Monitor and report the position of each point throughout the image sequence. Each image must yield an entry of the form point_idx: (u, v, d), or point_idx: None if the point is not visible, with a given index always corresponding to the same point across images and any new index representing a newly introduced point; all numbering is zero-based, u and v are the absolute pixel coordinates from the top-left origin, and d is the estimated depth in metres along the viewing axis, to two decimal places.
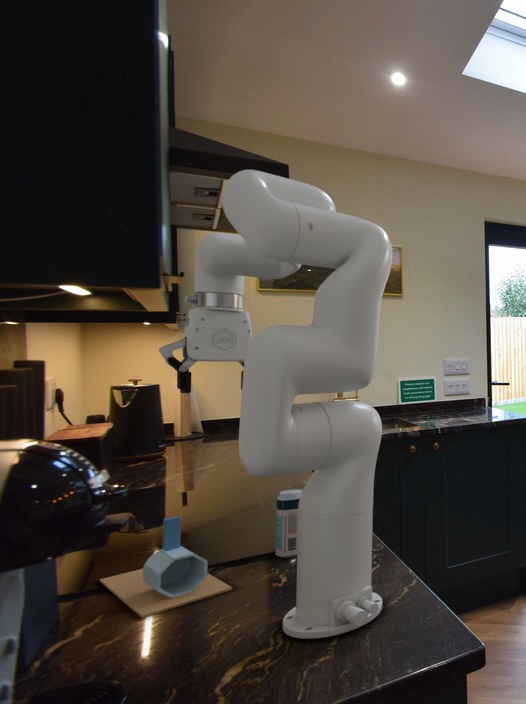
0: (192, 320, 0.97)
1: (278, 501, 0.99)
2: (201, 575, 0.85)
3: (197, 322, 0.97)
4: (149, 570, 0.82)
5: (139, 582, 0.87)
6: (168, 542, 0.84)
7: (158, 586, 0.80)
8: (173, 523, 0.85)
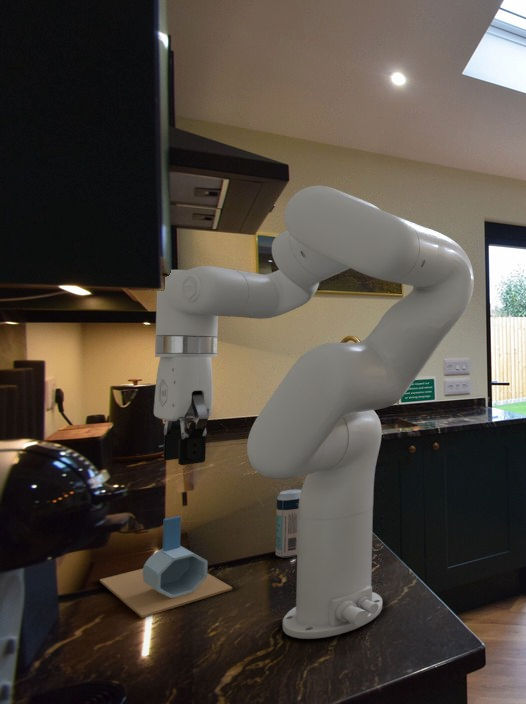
0: None
1: (278, 501, 0.99)
2: (201, 575, 0.85)
3: (157, 372, 0.84)
4: (149, 570, 0.82)
5: (139, 582, 0.87)
6: (168, 542, 0.84)
7: (158, 586, 0.80)
8: (173, 523, 0.85)
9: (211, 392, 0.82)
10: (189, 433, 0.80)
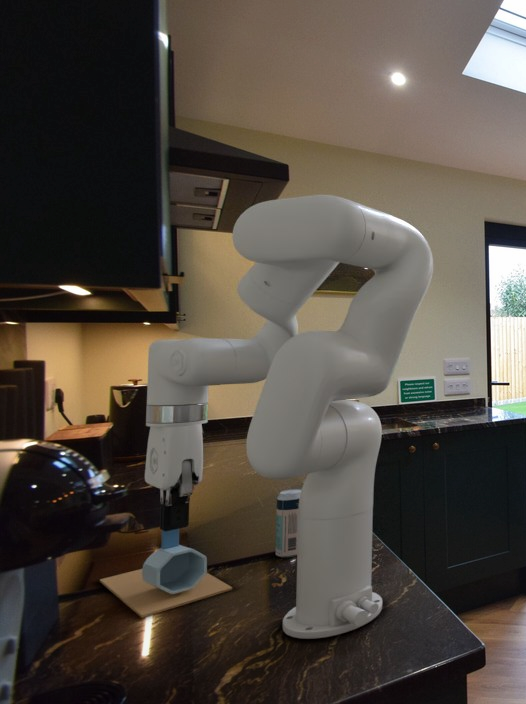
0: None
1: (278, 501, 0.99)
2: (201, 571, 0.85)
3: (148, 438, 0.85)
4: (148, 568, 0.82)
5: (139, 582, 0.87)
6: (167, 540, 0.85)
7: (158, 581, 0.80)
8: None
9: (201, 459, 0.84)
10: (172, 500, 0.83)
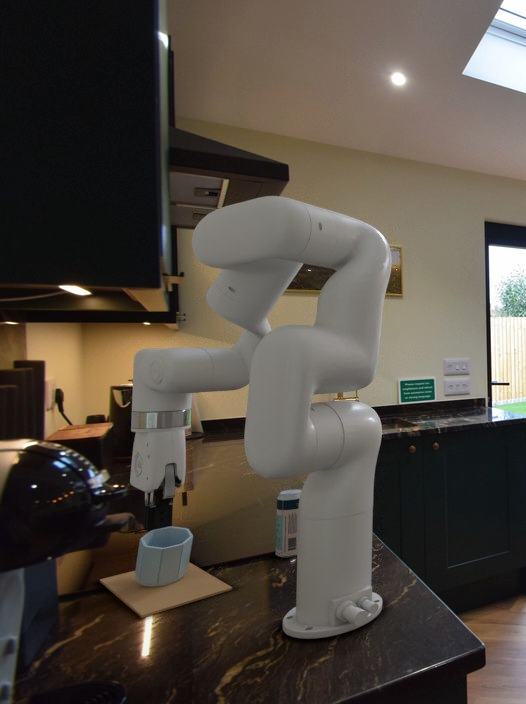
0: None
1: (278, 501, 0.99)
2: None
3: (134, 443, 0.89)
4: (137, 559, 0.85)
5: None
6: None
7: (144, 544, 0.84)
8: None
9: (184, 463, 0.88)
10: (156, 502, 0.87)
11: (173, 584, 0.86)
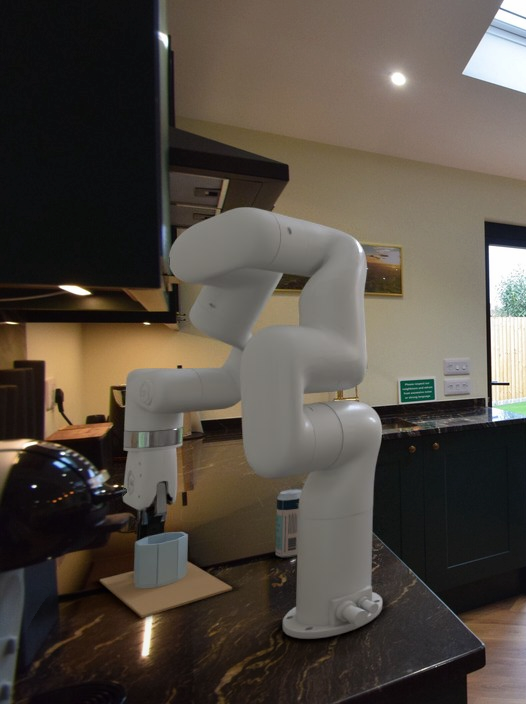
0: None
1: (278, 501, 0.99)
2: None
3: (126, 461, 0.91)
4: (134, 565, 0.86)
5: None
6: None
7: (139, 543, 0.85)
8: None
9: (175, 481, 0.90)
10: (148, 519, 0.89)
11: (173, 584, 0.86)
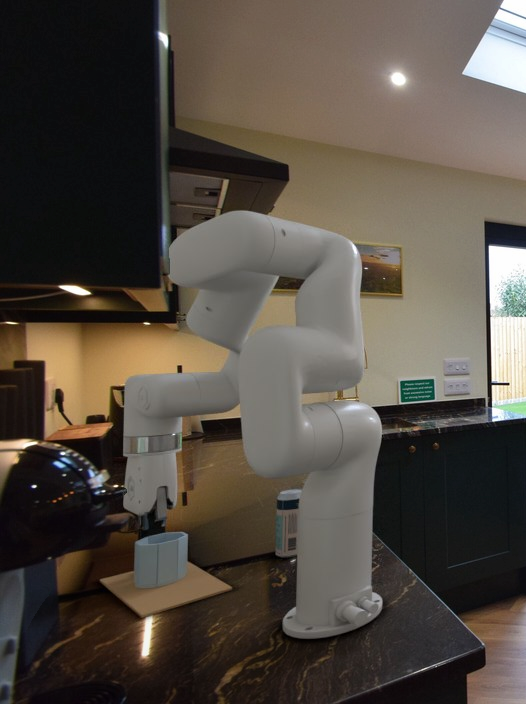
0: None
1: (278, 501, 0.99)
2: None
3: (126, 467, 0.91)
4: (134, 565, 0.86)
5: None
6: None
7: (139, 543, 0.85)
8: None
9: (175, 486, 0.90)
10: (149, 525, 0.89)
11: (173, 584, 0.86)
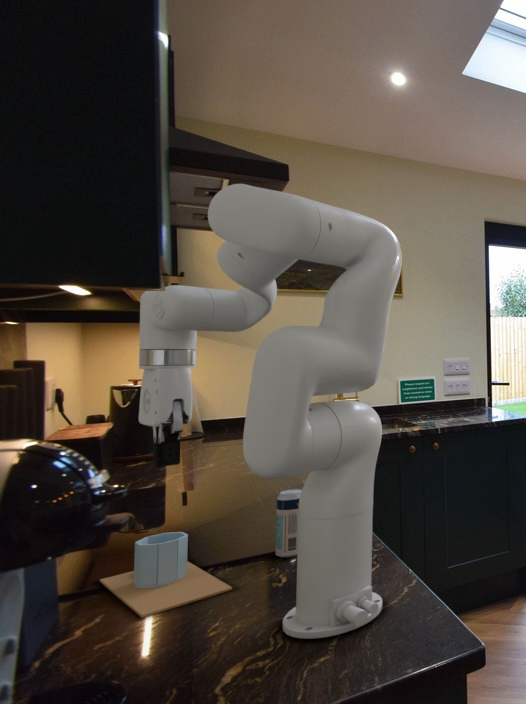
0: None
1: (278, 501, 0.99)
2: None
3: (141, 383, 0.92)
4: (134, 565, 0.86)
5: None
6: None
7: (139, 543, 0.85)
8: None
9: (191, 400, 0.91)
10: (165, 438, 0.90)
11: (173, 584, 0.86)
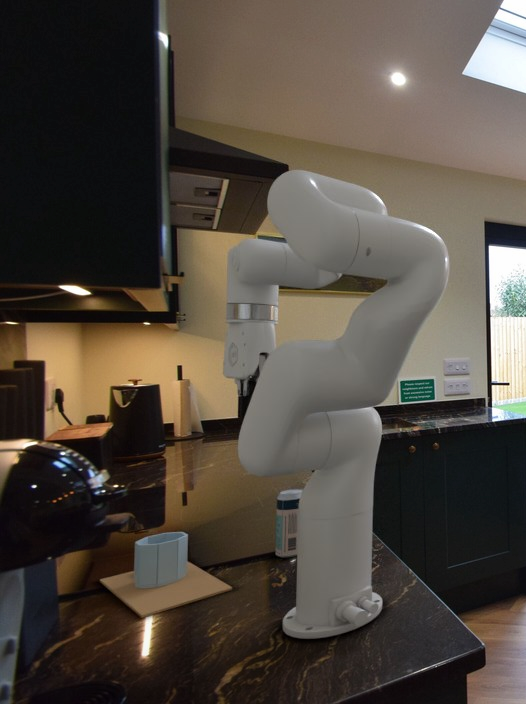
0: None
1: (278, 501, 0.99)
2: None
3: (226, 337, 0.94)
4: (134, 565, 0.86)
5: None
6: None
7: (139, 543, 0.85)
8: None
9: None
10: (250, 391, 0.92)
11: (173, 584, 0.86)
